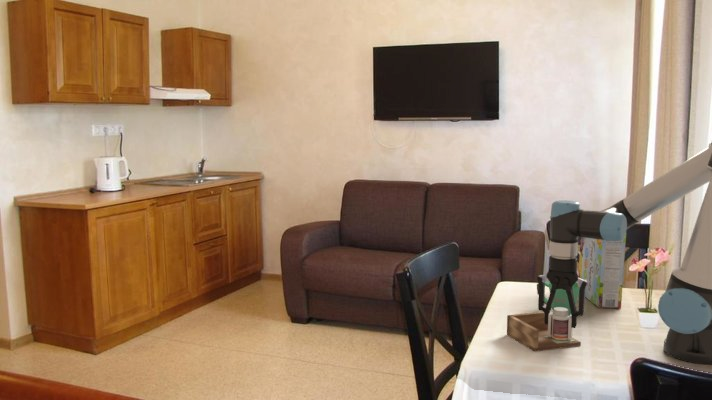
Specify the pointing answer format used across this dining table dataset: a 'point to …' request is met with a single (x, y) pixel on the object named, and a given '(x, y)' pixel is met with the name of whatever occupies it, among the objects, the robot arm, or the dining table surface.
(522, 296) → the dining table surface
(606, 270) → the snack box
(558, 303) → the mug
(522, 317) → the wooden corner tray
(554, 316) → the pill bottle
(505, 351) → the dining table surface
